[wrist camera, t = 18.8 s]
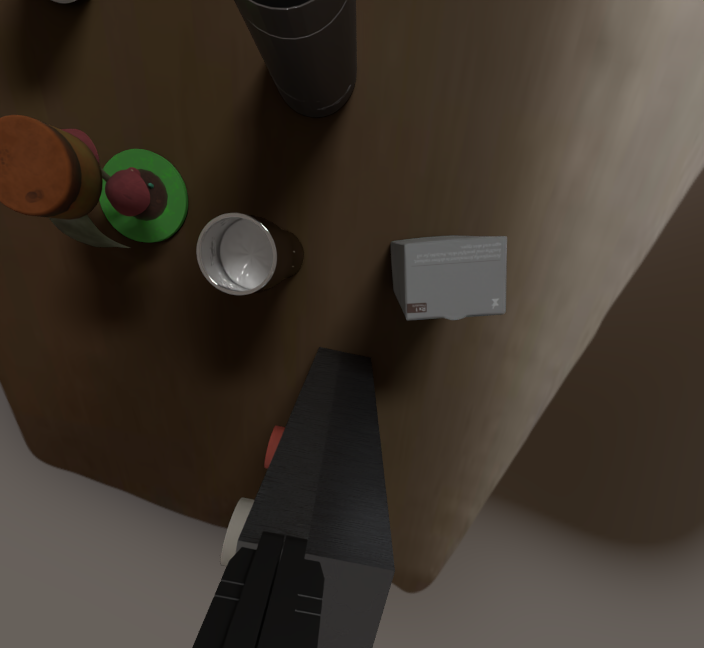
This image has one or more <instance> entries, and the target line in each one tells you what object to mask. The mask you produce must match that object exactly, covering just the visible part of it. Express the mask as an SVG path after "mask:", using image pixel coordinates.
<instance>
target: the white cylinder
mask: <svg viewBox="0 0 704 648" xmlns="http://www.w3.org/2000/svg"><path fill="white" fill-rule="evenodd" d="M254 501H255V500H253V499H248V498H243V497H242V498H241V499H240V500H239V502H238V504H237V506H236V508H235V510H234V512H233V515H232V517H231V520H230V523H229V526H228V529H227V532H226V536H225V539H224V543H223V547H222V552H221V559H220V564H221V565H223V566H227V565H228V562H229V560H230V559H231V558H232V557H233V556H234V555H235V553H236V547H237V541H238V538H239V536H240V534H241V531H242V529H243V527H244V524H245V522H246V519H247V517H248V515H249V512H250V510H251V508H252V505H253V503H254Z"/></svg>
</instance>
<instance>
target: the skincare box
mask: <svg viewBox="0 0 704 648" xmlns="http://www.w3.org/2000/svg"><path fill="white" fill-rule="evenodd" d="M391 262H392V277H393V291H394V293H395V295H396V297H397V299H398V302H399V304H400V306H401V308H402V310H403V313H404V315H405V318H406V320H420V319H436V318H446V319H450V320H458V319H462V318H464V317H471V316H487V315H501V314H504V313H505V312H506V262H507V237H506V236H498V237H492V236H437V237H424V238H414V239H406V240H399V241H392V242H391Z"/></svg>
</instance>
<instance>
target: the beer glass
mask: <svg viewBox="0 0 704 648" xmlns="http://www.w3.org/2000/svg"><path fill="white" fill-rule="evenodd" d="M197 260H198V264H199V267H200V269H201V271H202V273H203V275H204V276H205V278H206V279H207V280H208V281H209V282H210V283H211V284H212V285H213V286H214V287H216V288H217V289H219V290H221V291H223V292H225V293H228V294H232V295H248V294H253V293H259V292H263V291H266V290H269V289H271V288H273V287H275V286H276V285H278V284H279V283H280V282H282V281H283V280H284V279H285V278H289V277H291V276H293V275H294V274H296V273H297V272H298V271H299V269H300V268H301V266H302V264H303V260H304V250H303V246H302V244H301V242H300V241H299V239H298V238H297V237H296V236H295V235H294V234H293V233H291V232H289V231H287V230H284V229H281V228H280V227H279V226H277V225H276V224H274V223H273V222H271V221H269V220H267V219H265V218H262V217H259V216H255V215H248V214H242V213H226V214H222V215H220V216H217V217H215V218H214V219H212V220H211V221H210V222H209V223H208V224H207V225H206V226H205V227H204V228H203V230H202V232H201V233H200V236H199V238H198V242H197Z"/></svg>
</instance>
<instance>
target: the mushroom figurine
mask: <svg viewBox="0 0 704 648" xmlns="http://www.w3.org/2000/svg"><path fill="white" fill-rule="evenodd" d="M99 200H100V204H101V207H102V210H103V212H104V214H105V216H106V218H107V219H108V221H109V222H110V223H111V225H112V226H113V227H114V228H115V229H116V230H118V231H119V232H120V233H121V234H123V235H124V236H126V237H128V238H130V239H133V240H135V241H139V242H149V243H152V242H159V241H163V240H165V239H168V238H169V237H171V236H172V235H174V234H175V233H176V232H177V231H178V230H179V229H180V227H181V226H182V224H183V222H184V220H185V218H186V215H187V210H188V195H187V190H186V186H185V184H184V181H183V179H182V177H181V176H180V174H179V172H178V171H177V170H176V168H175V167H174V166H173V165H172V164H171V163H170V162H169V161H167V160H166V159H165V158H163V157H161V156H160V155H158V154H156V153H153V152H151V151H147V150H142V149H130V150H126V151H123V152H121V153H118V154H117V155H115V156H114V157H113V158H111V159H110V160H109V161H108V163H107V164H106V165H105V167H104V169H102V168H100V166H99V156H98V152H97V150H96V148H95V146H94V144H93V142H92V141H91V139H90V138H89V137H88V136H87V135H86V134H85V133H84V132H82V131H80V130H77V129H58V128H56V127H53V126H51V125H48V124H46V123H44V122H41V121H39V120H36V119H33V118H30V117H27V116H21V115H10V116H4V117H2V118H0V202H1V203H3V204H4V205H5V206H7V207H8V208H10V209H12V210H14V211H16V212H19V213H22V214H25V215H31V216H39V217H48V218H50V220H51V221H52V222H53V223H54V225H55V226H56V227H57V228H58V229H59V230H61V231H62V232H63V233H65V234H66V235H68V236H69V237H71V238H73V239H75V240H77V241H80V242H82V243H85V244H88V245H91V246H94V247H122V248H131V247H127V246H125V245H122V244H119V243H117V242H115V241H113V240H111V239H109V238H108V237H106V236H105V235H104V234H103V233H101V232H100V231H99V230H98V228H97V227H96V226H95V225H94V224H93V222H92V221H91V220H90V218H89V217H88V216H87V214H88V213H89V212H91V211H92V210H93V208H94V207H95V206H96V205H97V203H98V201H99Z"/></svg>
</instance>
